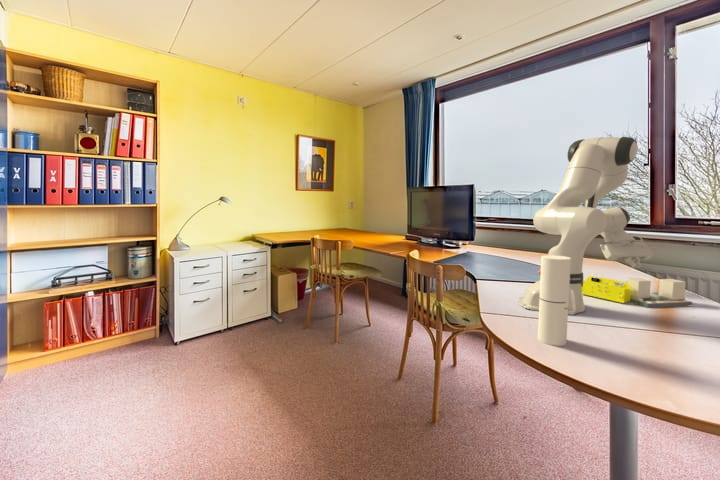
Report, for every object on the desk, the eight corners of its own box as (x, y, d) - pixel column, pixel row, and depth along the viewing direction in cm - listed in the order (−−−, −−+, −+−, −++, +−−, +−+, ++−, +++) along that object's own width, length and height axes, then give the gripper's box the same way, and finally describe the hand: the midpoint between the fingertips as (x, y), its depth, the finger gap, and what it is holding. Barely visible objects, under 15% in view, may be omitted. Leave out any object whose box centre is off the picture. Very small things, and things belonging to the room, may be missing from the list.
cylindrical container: (532, 336, 92) (535, 255, 90) (554, 334, 93) (558, 254, 90) (548, 346, 85) (552, 259, 83) (572, 345, 86) (577, 258, 83)
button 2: (671, 299, 117) (673, 282, 116) (655, 295, 123) (656, 278, 122) (684, 299, 117) (685, 281, 116) (667, 294, 123) (668, 278, 122)
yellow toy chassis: (630, 302, 121) (631, 282, 120) (623, 305, 119) (624, 284, 118) (586, 293, 135) (587, 275, 134) (578, 295, 133) (579, 276, 132)
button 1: (637, 298, 119) (638, 281, 118) (623, 294, 125) (624, 277, 125) (649, 298, 119) (650, 280, 119) (634, 293, 126) (635, 277, 125)
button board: (647, 307, 114) (647, 301, 114) (616, 297, 127) (617, 291, 127) (691, 305, 115) (692, 299, 115) (656, 296, 128) (657, 290, 128)
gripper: (602, 238, 138) (619, 263, 130) (644, 237, 139) (664, 262, 131) (593, 246, 143) (609, 271, 135) (634, 245, 144) (653, 270, 135)
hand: (637, 266), depth 133 cm, fingers closed
